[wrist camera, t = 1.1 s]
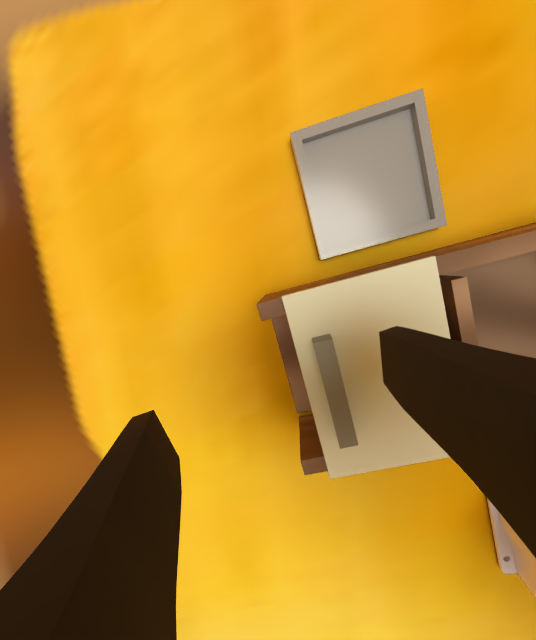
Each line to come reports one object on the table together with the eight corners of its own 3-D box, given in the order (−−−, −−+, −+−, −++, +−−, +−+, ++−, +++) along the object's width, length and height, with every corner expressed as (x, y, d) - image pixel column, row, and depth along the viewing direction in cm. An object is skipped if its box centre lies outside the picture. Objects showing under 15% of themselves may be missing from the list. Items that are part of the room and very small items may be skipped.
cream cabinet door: (466, 447, 17) (485, 467, 16) (329, 473, 18) (332, 494, 17) (430, 256, 16) (447, 255, 14) (281, 295, 17) (280, 299, 15)
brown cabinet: (569, 373, 21) (660, 409, 16) (302, 428, 24) (304, 474, 18) (550, 218, 20) (644, 201, 14) (265, 295, 22) (256, 304, 17)
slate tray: (438, 227, 20) (446, 225, 19) (319, 260, 21) (321, 260, 20) (414, 99, 19) (422, 88, 18) (290, 140, 20) (290, 132, 19)
